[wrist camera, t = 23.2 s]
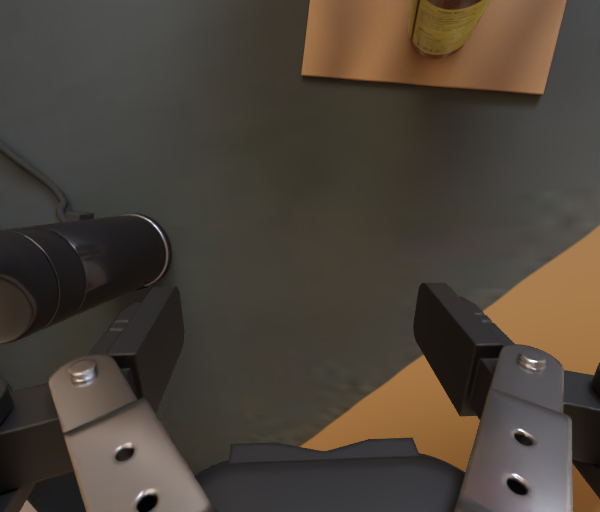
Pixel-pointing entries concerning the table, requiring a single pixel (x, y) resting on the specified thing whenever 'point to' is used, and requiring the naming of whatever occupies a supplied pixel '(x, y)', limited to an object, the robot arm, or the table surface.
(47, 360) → the table surface
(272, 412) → the table surface
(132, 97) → the table surface
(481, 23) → the flat copper plate
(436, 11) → the sauce bottle
